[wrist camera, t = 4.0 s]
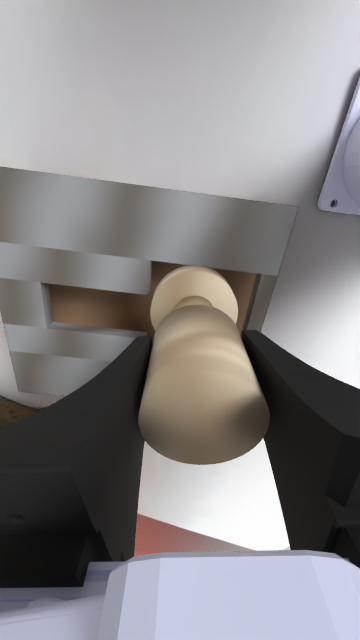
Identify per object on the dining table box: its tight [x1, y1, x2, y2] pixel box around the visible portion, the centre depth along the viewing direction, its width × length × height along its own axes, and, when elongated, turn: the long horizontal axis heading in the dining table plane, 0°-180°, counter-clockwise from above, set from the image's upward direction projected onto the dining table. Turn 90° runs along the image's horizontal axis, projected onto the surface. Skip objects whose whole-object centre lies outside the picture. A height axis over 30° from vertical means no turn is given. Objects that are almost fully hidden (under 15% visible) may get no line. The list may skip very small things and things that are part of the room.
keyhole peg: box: [138, 265, 270, 465], centre depth 12 cm, size 5×5×9 cm
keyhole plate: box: [0, 167, 298, 396], centre depth 19 cm, size 18×16×4 cm
